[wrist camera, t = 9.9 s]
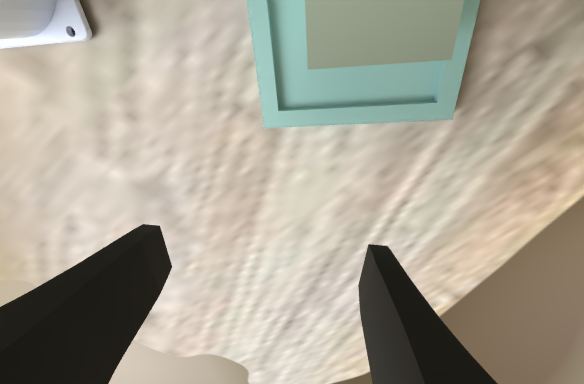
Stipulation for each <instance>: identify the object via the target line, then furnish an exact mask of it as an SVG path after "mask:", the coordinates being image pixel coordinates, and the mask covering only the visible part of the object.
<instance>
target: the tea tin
mask: <svg viewBox="0 0 584 384" xmlns="http://www.w3.org/2000/svg"><path fill="white" fill-rule="evenodd" d="M463 4H464V0H305V17H306V41H307V65H308V70H311V69H326V68H340V67H355V66H370V65H384V64H399V63H414V62H428V61H443V60H452V56H453V51H454V46H455V42H456V37H457V32H458V28H459V23H460V18H461V13H462V9H463Z"/></svg>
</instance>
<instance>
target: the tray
mask: <svg viewBox="0 0 584 384" xmlns="http://www.w3.org/2000/svg"><path fill="white" fill-rule="evenodd" d="M479 4H480V0H464V4H463V9H462V13H461V18H460V23H459V28H458V32H457V37H456V42H455V46H454V51H453V56H452V60H443V61H428V62H414V63H399V64H384V65H370V66H355V67H340V68H326V69H311V70H308V65H307V41H306V17H305V0H247V5H248V13H249V20H250V27H251V35H252V42H253V49H254V57H255V64H256V71H257V79H258V86H259V93H260V101H261V108H262V115H263V123H264V128H280V127H302V126H324V125H346V124H368V123H390V122H412V121H434V120H452V119H453V114H454V110H455V106H456V102H457V97H458V93H459V89H460V85H461V81H462V76H463V72H464V68H465V64H466V59H467V55H468V51H469V47H470V42H471V38H472V34H473V30H474V26H475V21H476V17H477V13H478V9H479Z"/></svg>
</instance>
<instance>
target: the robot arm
mask: <svg viewBox="0 0 584 384" xmlns="http://www.w3.org/2000/svg"><path fill="white" fill-rule="evenodd" d="M71 28H73V29H74V31H75V35H74V34H73V33H72V30H71ZM91 37H92V32H91V29H90V26H89V24H88V21H87V19H86V17H85V14H84V12H83V9H82V7H81V4H80V2H79V0H0V49H3V48H13V47H24V46H34V45H45V44H55V43H66V42H76V41H87V40H90V38H91ZM171 268H172V265H171V262H170V258H169V255H168V252H167V248H166V245H165V242H164V238H163V235H162V232H161V228H160V226H157V225H145V224H143V225H141V226H139V227H137V228H136V229H134V230H132V231H130V232H129V233H127V234H125V235H124V236H122V237H121V238H119V239H117V240H116V241H114V242H112V243H111V244H109V245H108V246H106V247H104V248H103V249H101V250H100V251H98V252H96V253H95V254H93V255H91V256H90V257H88V258H87V259H85V260H83V261H82V262H80V263H78V264H77V265H75V266H73V267H72V268H70V269H68V270H66V271H65V272H63V273H61V274H60V275H58V276H56V277H54V278H53V279H51V280H49V281H47V282H46V283H44V284H42V285H40V286H39V287H37V288H35V289H34V290H32V291H30V292H28V293H26V294H24V295H22V296H21V297H19V298H17V299H15V300H13V301H11V302H9V303H7V304H5V305H3V306H1V307H0V384H108V383H109V381H110V379H111V377H112V375H113V373H114V371H115V369H116V368H117V366H118V364H119V362H120V360H121V359H122V357H123V355H124V354H125V352H126V350H127V349H128V347H129V345H130V344H131V342H132V340H133V339H134V337H135V335H136V334H137V332H138V330H139V329H140V327H141V325H142V324H143V322H144V320H145V319H146V317H147V315H148V314H149V312H150V310H151V309H152V307H153V305H154V304H155V302H156V300H157V299H158V297H159V295H160V293H161V291H162V289H163V287H164V284H165V282H166V280H167V278H168V275H169V273H170V270H171ZM359 302H360V315H361V321H362V327H363V332H364V338H365V344H366V349H367V355H368V360H369V366H370V371H371V377H372V382H373V384H497V383H496V382H495V381H494V380H493V378H492V377H491V376H490V375H489V374H488V373H487V372H486V371H485V370H484V369H483V368H482V367H481V366H480V364H479V363H478V362H477V361H476V360H475V359H474V358H473V357H472V356H471V355H470V353H469V352H468V351H467V350H466V349H465V348H464V346H463V345H462V344H461V343H460V342H459V341H458V339H457V338H456V337H455V336H454V335H453V334H452V332H451V331H450V330H449V329H448V327H447V326H446V325H445V324H444V323H443V321H442V320H441V319H440V318H439V316H438V315H437V314H436V313H435V311H434V310H433V309H432V307H431V306H430V305H429V303H428V302H427V301H426V299H425V298H424V297H423V296H422V294H421V293H420V292H419V290H418V289H417V287H416V286H415V285H414V283H413V282H412V281H411V279H410V278H409V276H408V275H407V273H406V272H405V271H404V269H403V268H402V266H401V265H400V263H399V262H398V260H397V259H396V257H395V256H394V254H393V253H392V251H391V250H390V249H389V247H388V246H381V245H370V244H369V245H368V249H367V253H366V257H365V261H364V265H363V269H362V273H361V277H360V281H359Z"/></svg>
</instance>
